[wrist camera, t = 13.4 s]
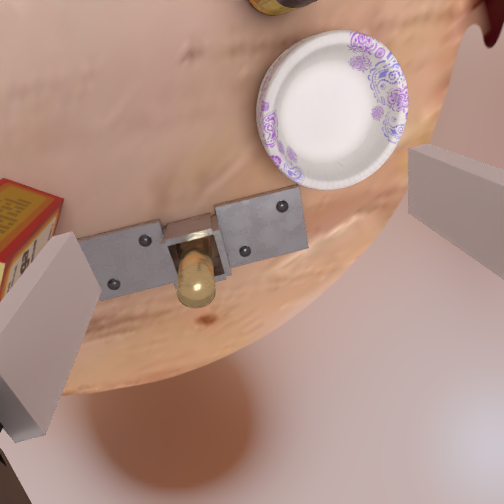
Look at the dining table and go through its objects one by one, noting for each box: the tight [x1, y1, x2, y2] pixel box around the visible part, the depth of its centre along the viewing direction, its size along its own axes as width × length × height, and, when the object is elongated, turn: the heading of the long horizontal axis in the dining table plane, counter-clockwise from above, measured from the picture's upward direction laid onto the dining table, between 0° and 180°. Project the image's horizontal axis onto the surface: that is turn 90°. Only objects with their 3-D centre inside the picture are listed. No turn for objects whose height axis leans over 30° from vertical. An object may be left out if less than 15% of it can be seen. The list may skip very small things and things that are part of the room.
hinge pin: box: [177, 236, 215, 308], centre depth 44 cm, size 4×4×12 cm
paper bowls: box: [256, 30, 409, 190], centre depth 40 cm, size 15×15×8 cm
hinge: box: [77, 185, 309, 301], centre depth 47 cm, size 29×9×5 cm, turn 102°
